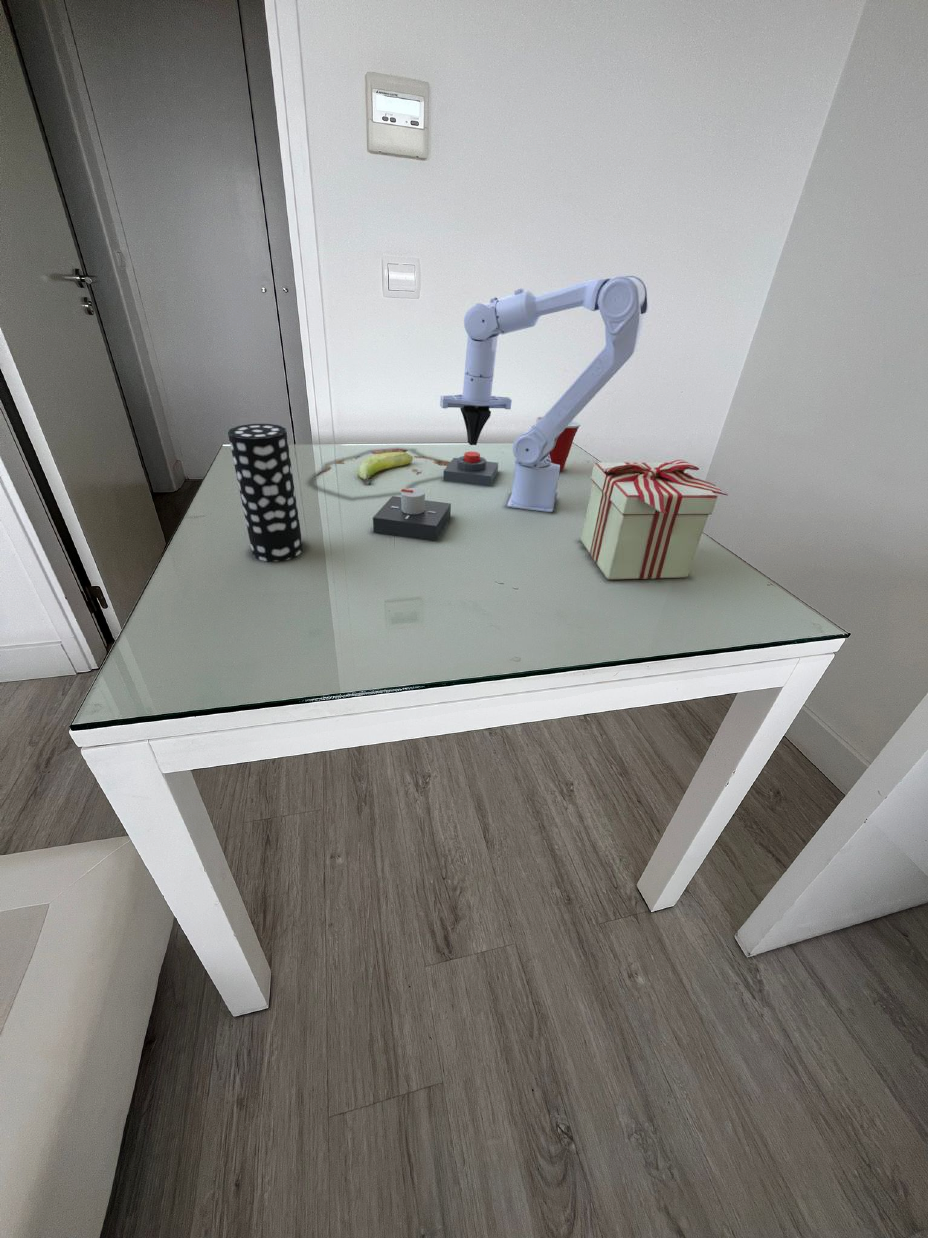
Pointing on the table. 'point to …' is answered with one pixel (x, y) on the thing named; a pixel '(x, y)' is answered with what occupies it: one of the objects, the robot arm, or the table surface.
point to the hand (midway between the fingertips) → (472, 443)
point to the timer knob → (412, 501)
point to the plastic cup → (563, 444)
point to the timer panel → (412, 520)
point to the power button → (472, 457)
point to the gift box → (646, 518)
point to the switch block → (471, 472)
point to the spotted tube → (267, 490)
